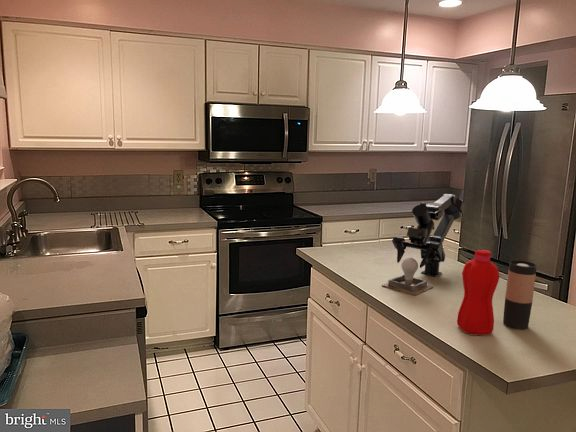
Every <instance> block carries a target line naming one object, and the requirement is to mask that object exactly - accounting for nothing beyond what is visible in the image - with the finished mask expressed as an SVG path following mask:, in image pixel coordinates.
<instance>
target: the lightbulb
mask: <svg viewBox="0 0 576 432" xmlns="http://www.w3.org/2000/svg"><path fill="white" fill-rule="evenodd" d="M418 268H419V263H418V261H417V260H416V259H415V258H413V257H406V258H404V259H403V260H402V262H401V270H402V271H403V275H405V284H407V285H412V280H413V277H414V276H415V274H416V272H417V270H419V269H418Z"/></svg>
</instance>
